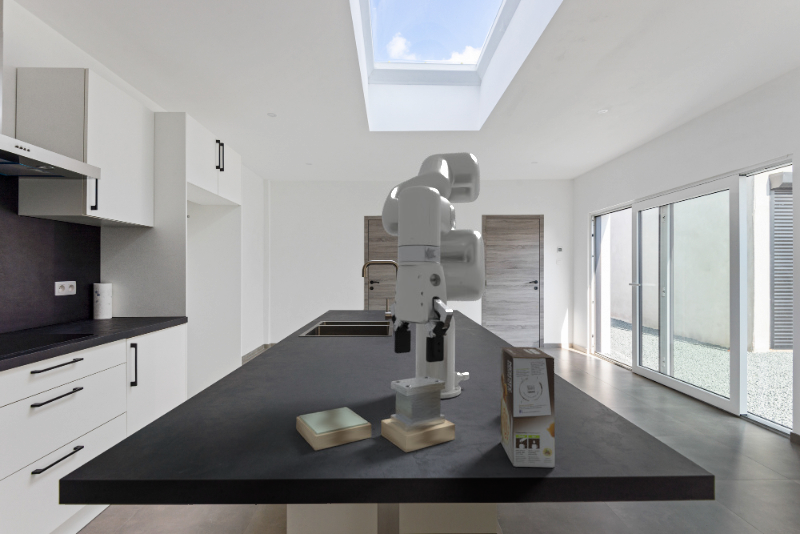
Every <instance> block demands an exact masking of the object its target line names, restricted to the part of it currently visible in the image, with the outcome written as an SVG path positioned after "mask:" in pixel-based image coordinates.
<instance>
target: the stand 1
mask: <svg viewBox="0 0 800 534" xmlns="http://www.w3.org/2000/svg"><path fill="white" fill-rule="evenodd" d="M295 427H296V429H295V430H297V432H298V434H300V435H301V436H302V438H304V440H305V441H306V442H307V443H308V444H309V445H310V447H311V448H312V449H313V450H314V451H319V450H323V449H328V448H332V447H335V446H336V447H337V446H341V445H345V444H348V443H353V442H358V441H361V440H364V439H365V440H366V439H369V438H370V439H371V438H372V424H371V422H368V421H367V420H366V419H364V418H363V417H361V416H360V415H359V414H357V413H356V412H354V410H352V409H350V408H349V407H347V406H343V407H339V408H334V409H328V410H323V411H317V412H313V413H307V414H301V415H299V416H296V425H295Z"/></svg>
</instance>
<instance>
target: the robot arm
mask: <svg viewBox="0 0 800 534" xmlns="http://www.w3.org/2000/svg"><path fill="white" fill-rule="evenodd" d="M480 179H481V175H480V166H479V163H478V159H477V158H476V156H475V155H474V154H472V153H471V152H467V151H465V152H450V153H449V152H448V153H436V154H432V155H430V156H428V157H426V158H425V159H424V160H423V161H422V163H421V166H420V168H419V171H418V174H417V175H416V176H414V177H411V178H409V179H407V180H405V181H403V182H401V183H399V184H397V185H395V186H394V187H393V188H392V189H391V190H390V191H389V193H388V195H387V196H386V198H385V201H384V203H383V207H382V211H381V222H382V223H381V224H382V227H383V229H384V230H385V232H386V233H387V234H388V235H390V236H393V237H397V271H396V281H395V291H394V302H393V303H392V304H391V305H390V306H389V310H390V314H391V321H392V324H393V326H392V328H393V331H394V347H393V350H394V353H395V354H405V353H410V352H411V350H412V349H411V347H412V345H411V341H412V338H411V337H412V330H409V329H410V328H411V325H412V324H415V378H416V377H423V376H430V377H433V378H436V379H439V380H441V381H444V382H445V389H442V390H441V399H449V398H454V397H457V396H459V395H460V394H461V393H462V387H461V386H460V385H459V383H460V382H461V381H468V380H469V379H470V373H469V372H468V371H465V372H458V371H457V370H456V371H455V369H456V368H455V367H456V366H455V365H456V363H455V361H456V360H455V359H456V350H455V349H456V348H455V347H456V320H455V317H454V311H453V310H452V308H450V307H449V306H448V302H476V301H479V300H481V299H482V297H483V295H484V293H485V291H486V290H485V289H486V268H485V266H486V265H485V263H486V261H485V244H484V239H483V235H482V234H481V233H480V231H478V230H475V229H463V228H462V229H460V228H459V229H457V228H456V227H457V220H456V210H455V207H454V206H453V205H452V204H458V203H459V204H465V203H472V202H475V201H476V200H477V199H478V198H479V195H480V193H481V192H480V190H481V182H480V181H481V180H480Z"/></svg>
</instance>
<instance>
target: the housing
mask: <svg viewBox="0 0 800 534" xmlns="http://www.w3.org/2000/svg"><path fill="white" fill-rule="evenodd" d="M390 389H392V390H393V391H395V414H390V418H391V423H393V424H395V425H396V426H398V427H399V428H401V429H402V430H404V431H406V432H408V431H412V430H416V429H421V428H425V427H429V426H433V425H437V424H441V423H445V420H446V415H445V414H443V413H441V407H442V406H441V399H442V398H441V390H442V389H445V382H444V381H441V380H439V379H436V378H433V377H430V376H423V377H416V376H415V377H412V378H411V377H410V378H405V379H404V378H403V379H398V380H393V381H390Z"/></svg>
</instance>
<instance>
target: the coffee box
mask: <svg viewBox="0 0 800 534" xmlns="http://www.w3.org/2000/svg"><path fill="white" fill-rule="evenodd" d="M499 351H500V352H499V354H500V355H499V356H500V358H499V361H500V364H499V365H500V368H499V369H500V371H499V372H500V373H499V374H500V378H499V379H500V443H501V445H502V447H503V449H504V451H505V453H506V455H507V457H508V459H509V461H510V463H511V464H512V466H513V467H519V468H521V467H522V468H523V467H524V468H525V467H526V468H528V467H529V468H551V469H552V468H554V467H555V465H556V464H555V461H556V459H555V458H556V457H555V456H556V455H555V454H556V452H555V451H556V446H555V444H556V443H555V442H556V439H555V438H556V435H555V432H556V431H555V430H556V429H555V428H556V426H555V423H556V422H555V418H556V417H555V415H556V411H555V400H556V399H555V357H554V356H552V355H550V354H548V353H547V352H544V351H542V350H540V349H539V348H537V347H532V346H531V347H529V346H523V347H522V346H517V347H516V346H511V347H508V346H506V347H500V349H499Z"/></svg>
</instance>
